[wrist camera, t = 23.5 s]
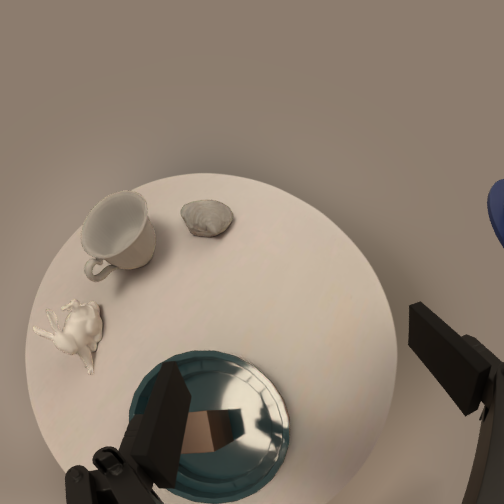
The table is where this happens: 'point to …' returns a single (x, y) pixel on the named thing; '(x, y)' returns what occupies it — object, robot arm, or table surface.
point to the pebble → (206, 217)
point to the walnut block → (207, 431)
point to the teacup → (118, 234)
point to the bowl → (242, 425)
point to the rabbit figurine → (76, 330)
